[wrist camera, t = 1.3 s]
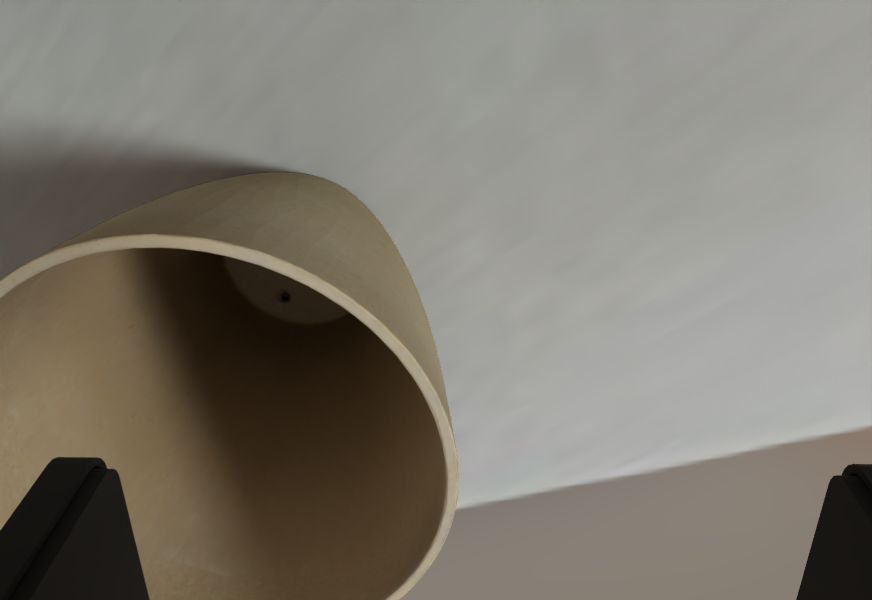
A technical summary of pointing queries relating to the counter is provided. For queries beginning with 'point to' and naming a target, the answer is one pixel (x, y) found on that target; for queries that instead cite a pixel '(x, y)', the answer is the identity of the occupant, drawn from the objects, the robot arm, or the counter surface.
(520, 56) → the counter surface
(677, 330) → the counter surface
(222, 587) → the plant pot
